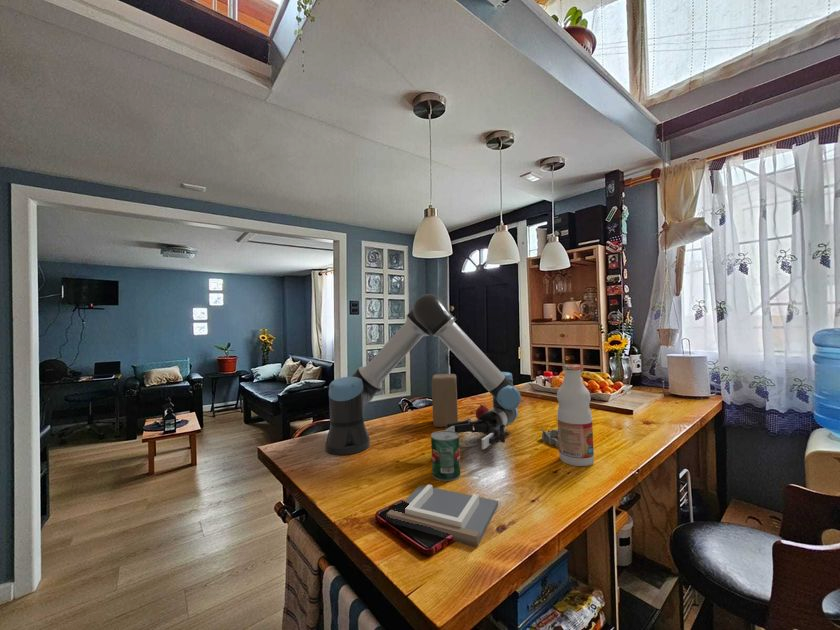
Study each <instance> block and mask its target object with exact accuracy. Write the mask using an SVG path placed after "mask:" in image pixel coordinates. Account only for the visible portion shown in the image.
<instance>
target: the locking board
mask: <svg viewBox="0 0 840 630" xmlns="http://www.w3.org/2000/svg"><path fill="white" fill-rule="evenodd" d="M404 501H405V502H407V503H409V505H408V506H407V507H406V508H405V513H402V512H398V511H394V510H395V509H394V510H393V509H390V510H389V511H387V512H386V517H387V516H388V517H390V518H393V519H398V520H401V521H405V522H409V523H413V524H419V525H423V526H427V527H431V528H433V529H435V530H438V531H441V532H444V533H448V534H451V535H452V536H453V541H452V542H455V543H459V544H464V545H467V546H471V547H474V548H478V547H479V544H480V543H481V540H482V539H483V536H484V534H485V532H486V531H487V528H488V527H489V524H490V522H491V521H492V519H493V517H494V514H495V513H496V511H497V508H498V507H499V500H496V499H491V498H486V497H482V496H480V494H477V493H473V494H471V495H470V494H468V493H467V494H466V493H462V492H456V491H452V490H447V489H442V488H437V487H434V486H433V485H432V484H427V485H422V484H420V485H419V486H417V488H416V489H414V491H413V492H412V493H411V494H410V495H409V496H407V498H406V499H404Z"/></svg>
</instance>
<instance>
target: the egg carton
mask: <svg viewBox="0 0 840 630" xmlns="http://www.w3.org/2000/svg"><path fill="white" fill-rule="evenodd" d="M539 430H540V431H541V433H542V434H541V440H542V441H543V442H548V444H549V445H553V444H555V448H557V447H559V440H558V428H557V429H551V430H549V429H548V430H547V431H545V429H543V428H539ZM555 437H557V438H555Z"/></svg>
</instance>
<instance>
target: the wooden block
mask: <svg viewBox="0 0 840 630" xmlns="http://www.w3.org/2000/svg"><path fill="white" fill-rule="evenodd" d="M457 386H458V385H457V375H456V374H455V373H437V374H436V373H435V374H433V375H432V378H431V398H432V399H431V401H432V403H431V404H432V424H433V427H435V428H447V424H449V423H455V422H459V412H458V411H459V410H458V388H457Z"/></svg>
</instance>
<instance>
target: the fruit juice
mask: <svg viewBox="0 0 840 630" xmlns="http://www.w3.org/2000/svg"><path fill="white" fill-rule="evenodd" d="M562 370H563V372H564V377H563V381H562V384H561V385H560V386H559V388H557V393H556V399H557V401H558V407H557V412H556V413H557V416H556V417H557V418H556V420H557V429H558V440H559V448H558V454H559V455H558V456H559V459H560V461H562V462H563V463H565V464H567V465H570V466H573V467H588V466H591V465H593V464H594V462H595V461H594V460H595V453H594V451H595V450H594V449H595V448H594V432H593V415H592V413H593V412H592V411H591V408H590V403H591V393H590V390H589V389H588V388H587V387H586V386H585V384H584V382H583V380H582V375H581V372H582V366H581V365H580V364H564V365H563V367H562ZM558 440H557V441H558Z"/></svg>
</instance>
